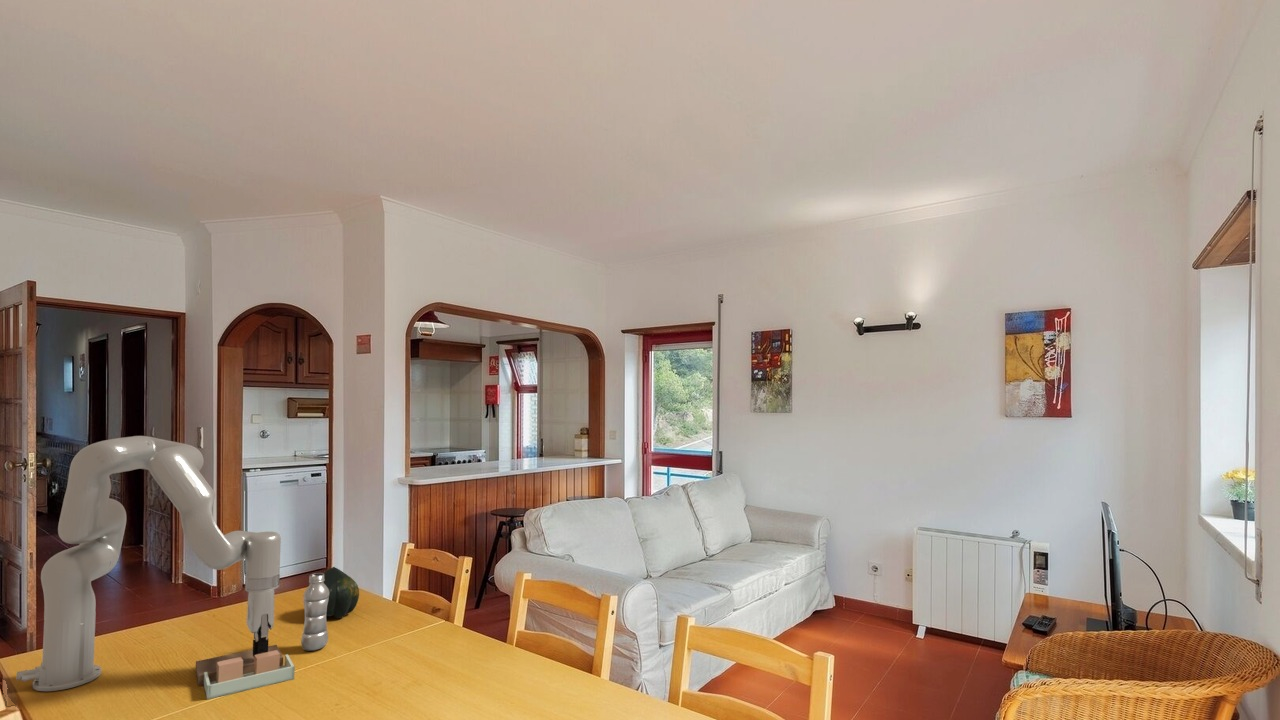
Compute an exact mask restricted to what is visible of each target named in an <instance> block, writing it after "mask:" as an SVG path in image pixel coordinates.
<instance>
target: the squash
mask: <svg viewBox="0 0 1280 720" xmlns="http://www.w3.org/2000/svg"><path fill="white" fill-rule="evenodd" d="M323 574H324V579H325V581H324V582H323V583H324V584H325V585H326V586H327V588H328V589H329V599H328V605H327V612H326V617H334V618H335V619H341V618H344V617H345V615H346V616H347V615H348V614H351V613H352V612H353V611H354V610H355V608H356V607H357V605H358V601H359V598H360V589H359V586H358V584H357V582H356V581H355V580H354V578H352V577H351V576H349V575H348V574H346V573H345V572H344V571H342V570H341V569H339V568H338V567H336V566H332V567H331V568H328V569H327V570H325V572H323Z"/></svg>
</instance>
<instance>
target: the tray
mask: <svg viewBox="0 0 1280 720" xmlns="http://www.w3.org/2000/svg"><path fill="white" fill-rule="evenodd" d="M284 655H285V656H284V664H283V666H279V669H278V670H273V671H269V672H264V673H260V674H256V675H254V672H252V673H248V674H244V675H243V677H242V678H238V679H233V680H229V681H225V682H220V683H216V681H212V682H210V681H209V677H208V673H207V672H204V685H203V688H204V692H205V697H206V700H211V699H216V698H221V697H224V696H228V695H229V696H230V695H233V694H237V693H240V692H245V691H250V690H254V689H258V688H262V687H266V686H271V685H275V684H279V683H283V682H287V681H291V680H295V672H296V671H295V668H296V666H295V665H294V663H293V661H292V659H291V657H290V656H289V654H288V653H287V654H284Z"/></svg>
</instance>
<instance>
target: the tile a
mask: <svg viewBox="0 0 1280 720" xmlns="http://www.w3.org/2000/svg"><path fill="white" fill-rule="evenodd" d="M242 677H243V660H242V658H241V657H237V658H233V659H228V660H224V661H220V662H217V672H216V683H220V682H225V681H229V680H233V679H238V678H242Z"/></svg>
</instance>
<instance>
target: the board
mask: <svg viewBox="0 0 1280 720" xmlns="http://www.w3.org/2000/svg"><path fill="white" fill-rule="evenodd" d="M275 650H277V651H278V652H279V653H280V664H279V666H284V656H283V654H282V652H281V650H280V648H279V647H278V645H277V644H274V645H268V652H270V651H275ZM237 657H241V658H242V660H243V675H244V674H248V673H252V672H254V657H253V649H249V650H245V651H240V652H239V651H238V652H235V653H229V654H223V655H220V656H215V657H211V658H205V659H199V660H196V661H195V675H196V676H195V677H196V680H197V684H198V687H201V686H204V672H207V673H208V677H209V681H210V682H212V681H216V672H217V662H220V661H224V660H228V659H233V658H237Z"/></svg>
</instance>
